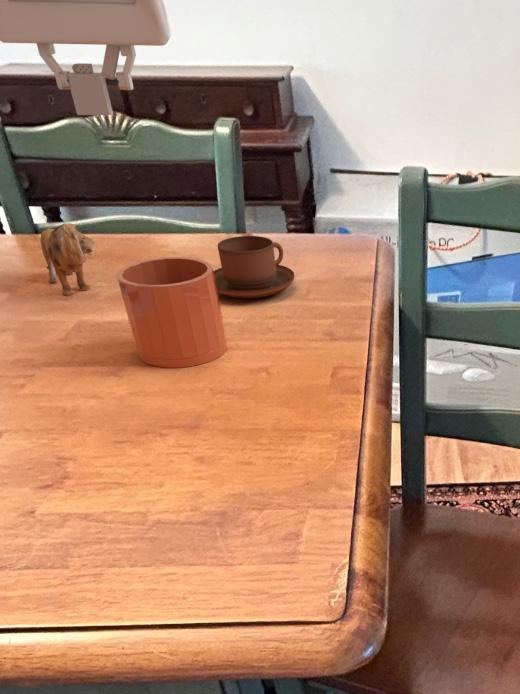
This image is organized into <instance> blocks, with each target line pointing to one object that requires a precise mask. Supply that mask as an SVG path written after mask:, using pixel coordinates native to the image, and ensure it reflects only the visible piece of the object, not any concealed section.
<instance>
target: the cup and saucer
mask: <svg viewBox="0 0 520 694" xmlns="http://www.w3.org/2000/svg"><path fill="white" fill-rule="evenodd" d="M275 249H277V250H278V258H277V259H276V255H275ZM217 250H218V255H219V260H220V266H221V267H220V268H217V269H214V275H215V281H216V286H217V291H218V294H220V295H223V296H225V297H231V298H237V299H238V298H239V299H255V298H264V297H268V296H272V295H276V294H278V293H280V292H282V291H284V290H286V289H287V288H289V287H290V286H291V284H292V283H293V282H294V280H295V271H293V270H292V269H291V268H289V267H287V266H285V265H281V263H282V262H283V259H284V249H283V247H282V244H280V243H279V242H276V241H275V242H273V240H272V239H271V238H268V237H264V236H258V235H239V236H233V237H228V238H225V239H222V240H220V241H219V242H218V243H217Z"/></svg>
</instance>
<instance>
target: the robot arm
mask: <svg viewBox="0 0 520 694" xmlns="http://www.w3.org/2000/svg"><path fill="white" fill-rule="evenodd" d="M170 39H171V28H170V24H169V19H168V14H167V10H166V7H165V2H164V0H0V42H1V43H3V44H36V47H37V50H38V55H39V56H40V58H41V59H42V60H43V61H44V62H45V64H46V65H47V67H48V68H49V69H50V71H51V72H52V73H53V74H54V79H55V81H56V86H57V88H58V90H71V89H70V85H69V81H68V77H67V74H68V73H70V72H71V71H70V70H63V69H62V67H61V66H60V64H59V63H58V61H57V60H56V59H55V58H54V56H53V55H55V54H56V49H55V45H96V46H97V45H101V46H102V45H103V46H106V45H119V48H120V55H121V57H125V61H124V64H123V69H122V71H116V74H115V78H116V80H117V81H118V83H117V85H118V89H119V90H120V91H133V90H134V83H133V78H132V71H133V67H134V64H135V60H136V57H137V54H136V48H135V46H147V47H148V46H152V47H153V46H156V47H162V46H165V45H167V44H168V42H169V41H170Z"/></svg>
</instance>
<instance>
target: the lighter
mask: <svg viewBox="0 0 520 694" xmlns="http://www.w3.org/2000/svg"><path fill="white" fill-rule="evenodd" d="M120 54H121V52H120V48H119V45H105V50H104V57H103V62H102V68H101V72H94V68H93V63H81V62H79V63H78V62H77V63H74V64H73V65H72V66H71V69H72V71H70V73H68V74H67V77H68V81H69V85H70V89H69V90H70V93H71V97H72V101H73V104H74V108H75V112H76V115H77V116H111V115H113V113H114V112H113V107H112V102H111V98H110V93H109V90H108V86H107V81H106V78H108V79H110V80H112V81H113V80H114V79H115V78H116V73H117V68H118V62H119V57H120Z"/></svg>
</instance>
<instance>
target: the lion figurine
mask: <svg viewBox="0 0 520 694" xmlns="http://www.w3.org/2000/svg"><path fill="white" fill-rule="evenodd" d="M39 241H40V247H41V250H42V251H41V252H42V254H43V257H44V260H45V262H46V264H47V266H46V269H47V270H48V274H49V275H48V276H49V278H48V283H49V284H54V283H55V284H56V283H57V282H58V281H59V282H60V284H61V287H62V294H63V295H62V296H72V295H73V289H72V287H71V285H70V284H69V282H68V279H67V275H72V274H73V273H75V275H76V283H77V287H78V288H79V289H80V290H81V291H84V292H85V291H89V290H90V289H91V285H89V284H86V282H85V279H84V270H83V266H84V263H85V262H86V255H89V256H92V255H93V249H94V244H95V240H94V239H92V238H89V237H88V236H86V235H84V233H83V232H80V231H79V230H78V229H77V226H76V224H74V223H71V222H68V223H62V224H59V225H58V226H56V227H54V228H46V229H44V230H43V231H42V232H41V233H40V238H39Z"/></svg>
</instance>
